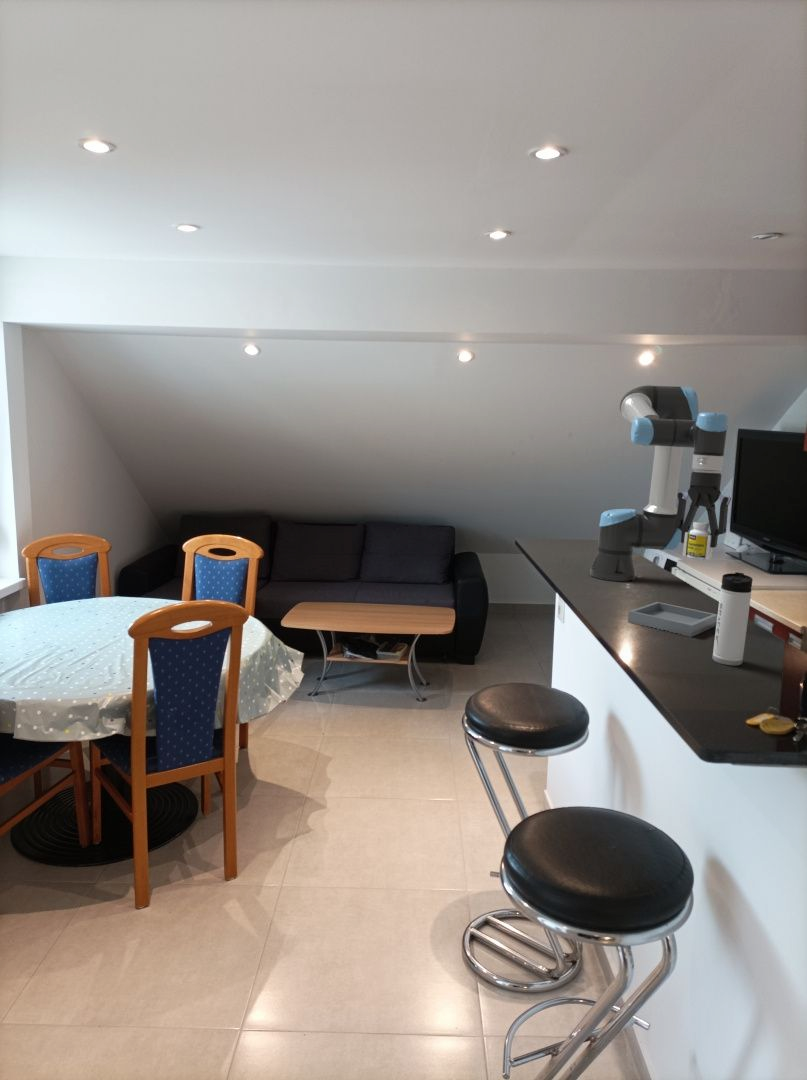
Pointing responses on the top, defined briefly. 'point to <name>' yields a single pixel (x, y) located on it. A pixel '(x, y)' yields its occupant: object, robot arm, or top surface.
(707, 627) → the tray
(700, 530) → the supplement bottle
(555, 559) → the top surface
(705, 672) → the top surface
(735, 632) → the travel mug
